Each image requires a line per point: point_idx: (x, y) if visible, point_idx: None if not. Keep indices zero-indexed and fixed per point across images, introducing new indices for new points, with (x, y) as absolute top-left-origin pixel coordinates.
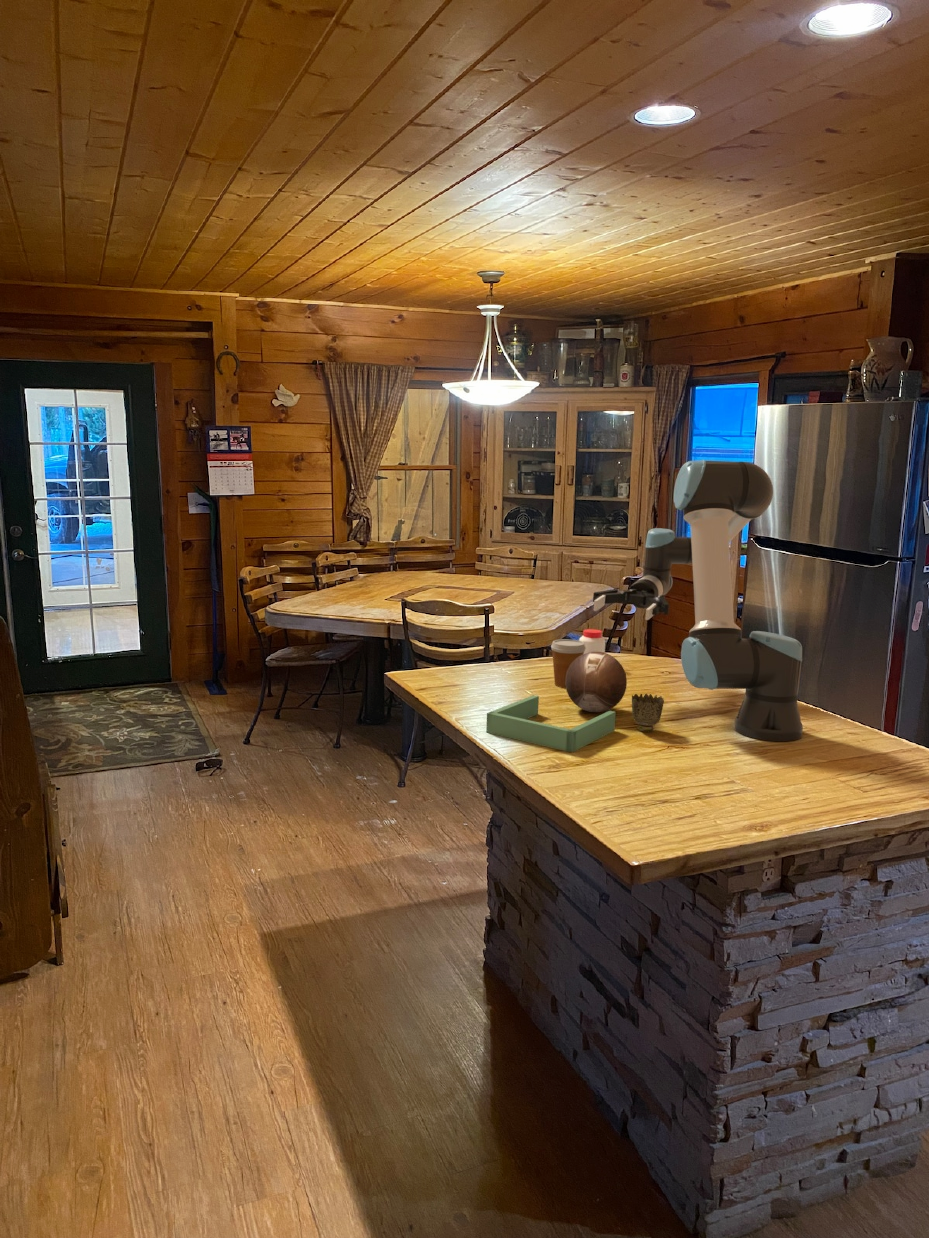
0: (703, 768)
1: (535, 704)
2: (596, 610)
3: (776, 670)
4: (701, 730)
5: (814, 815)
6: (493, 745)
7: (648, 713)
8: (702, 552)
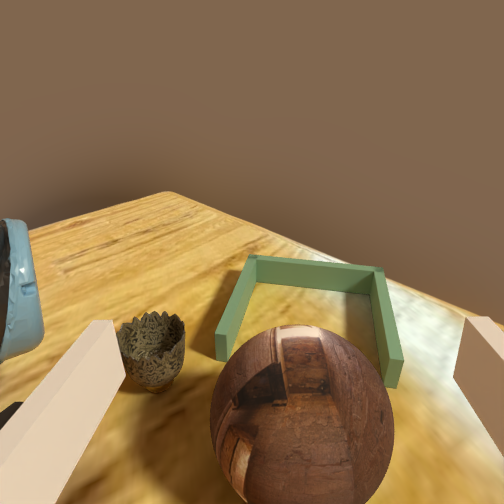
0: (90, 287)
1: (385, 360)
2: (455, 376)
3: None
4: None
5: None
6: None
7: (151, 331)
8: None
